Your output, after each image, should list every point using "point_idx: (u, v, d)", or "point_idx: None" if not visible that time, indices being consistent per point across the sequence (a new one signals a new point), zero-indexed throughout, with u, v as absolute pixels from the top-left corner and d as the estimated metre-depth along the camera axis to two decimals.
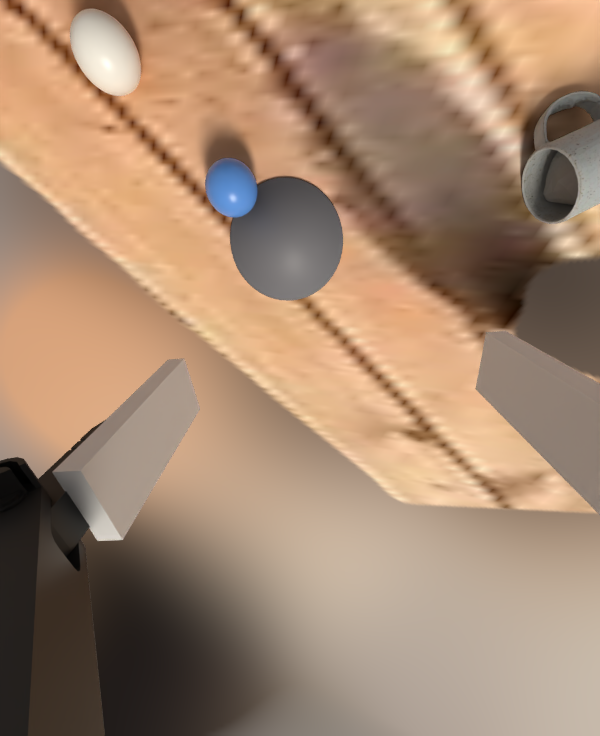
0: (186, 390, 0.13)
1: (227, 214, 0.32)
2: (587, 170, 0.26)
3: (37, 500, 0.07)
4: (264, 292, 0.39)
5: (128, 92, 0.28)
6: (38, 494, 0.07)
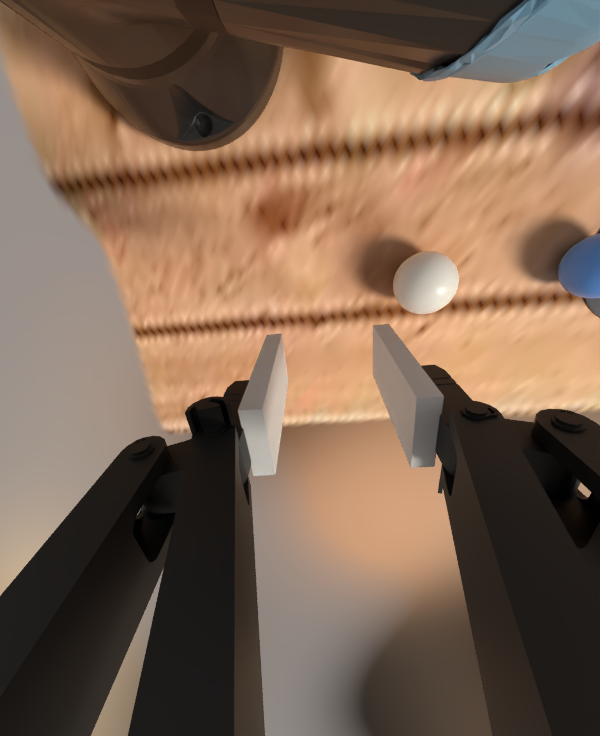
0: (283, 362, 0.14)
1: None
2: None
3: (232, 436, 0.08)
4: None
5: None
6: (233, 432, 0.08)
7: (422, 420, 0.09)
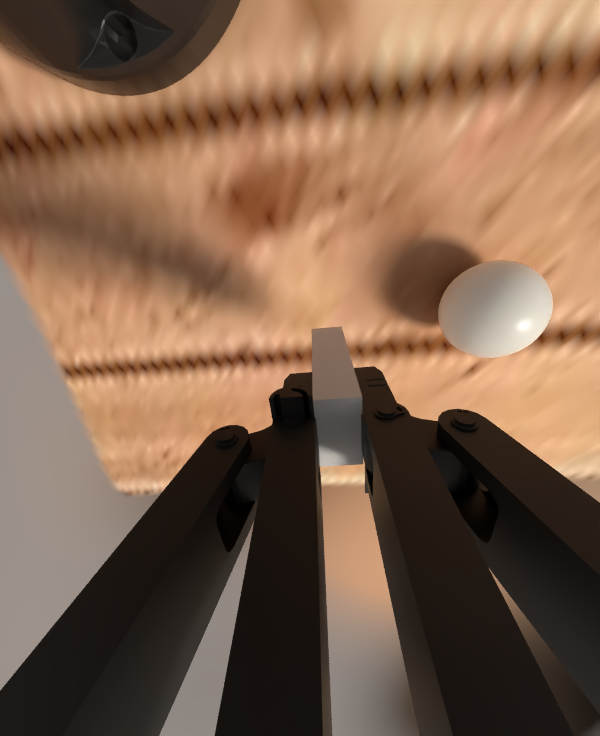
0: None
1: None
2: None
3: (311, 428, 0.08)
4: None
5: None
6: (312, 424, 0.08)
7: (345, 420, 0.09)
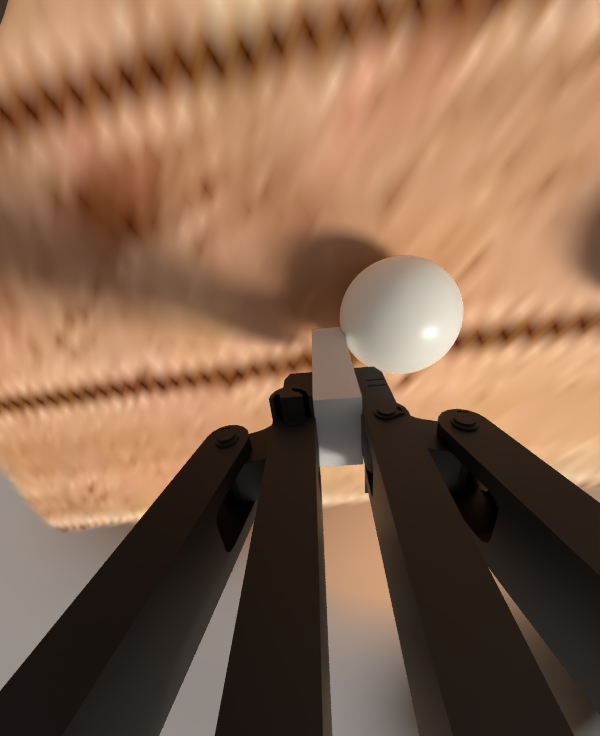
0: None
1: None
2: None
3: (311, 428, 0.08)
4: None
5: None
6: (313, 424, 0.08)
7: (344, 420, 0.09)
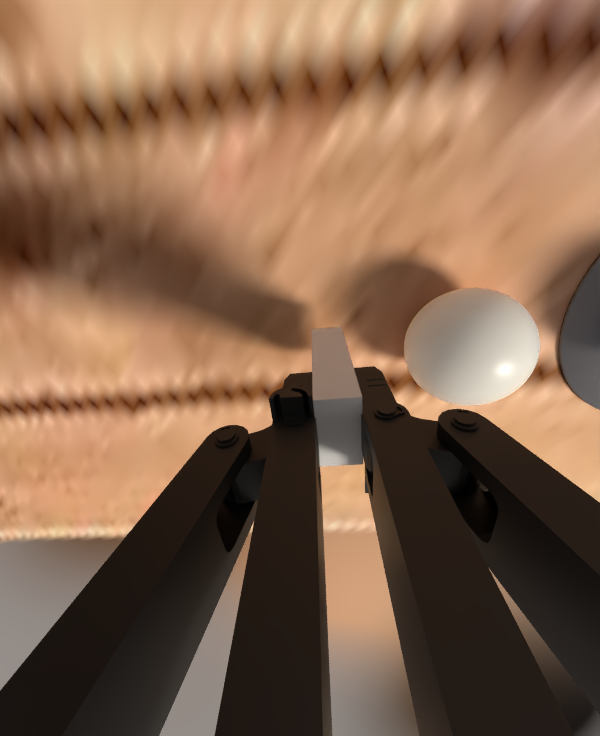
0: None
1: None
2: None
3: (311, 428, 0.08)
4: None
5: (414, 375, 0.14)
6: (313, 424, 0.08)
7: (345, 420, 0.09)
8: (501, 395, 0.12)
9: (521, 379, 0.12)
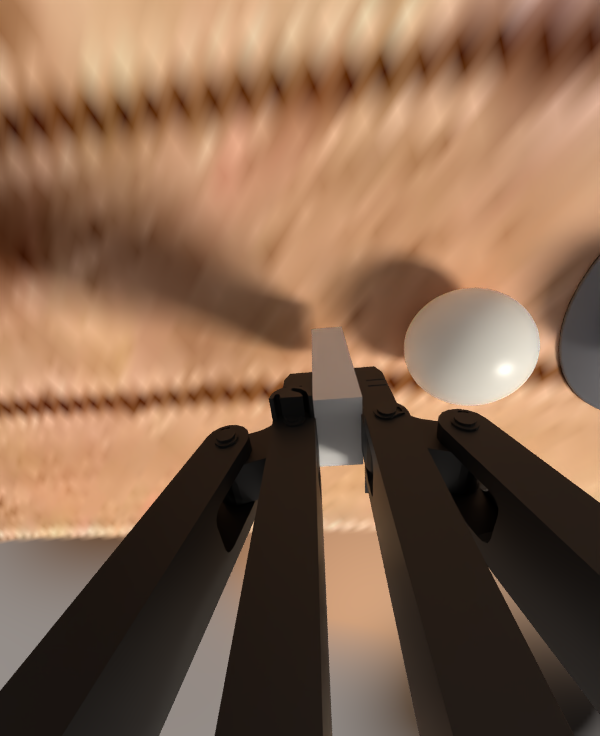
0: None
1: None
2: None
3: (311, 428, 0.08)
4: None
5: (414, 375, 0.14)
6: (313, 424, 0.08)
7: (345, 420, 0.09)
8: (501, 395, 0.12)
9: (521, 379, 0.12)
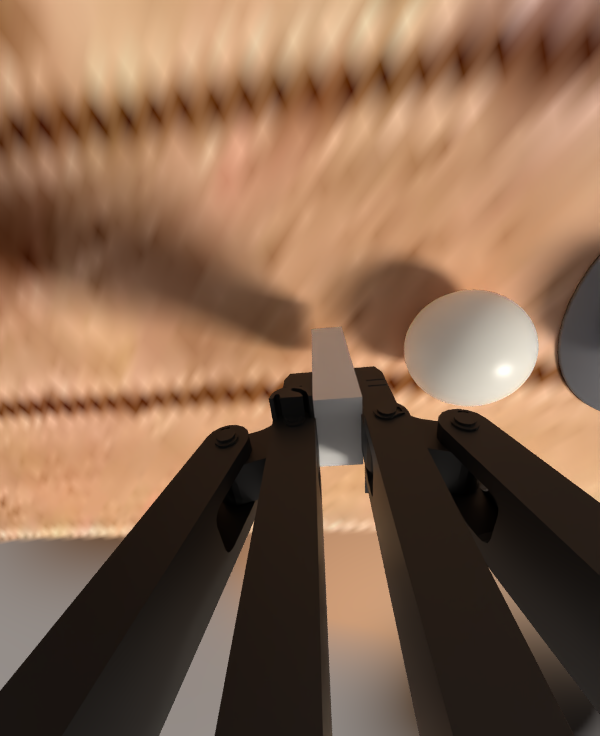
0: None
1: None
2: None
3: (311, 428, 0.08)
4: None
5: (414, 376, 0.14)
6: (312, 424, 0.08)
7: (345, 420, 0.09)
8: (500, 396, 0.12)
9: (520, 380, 0.12)
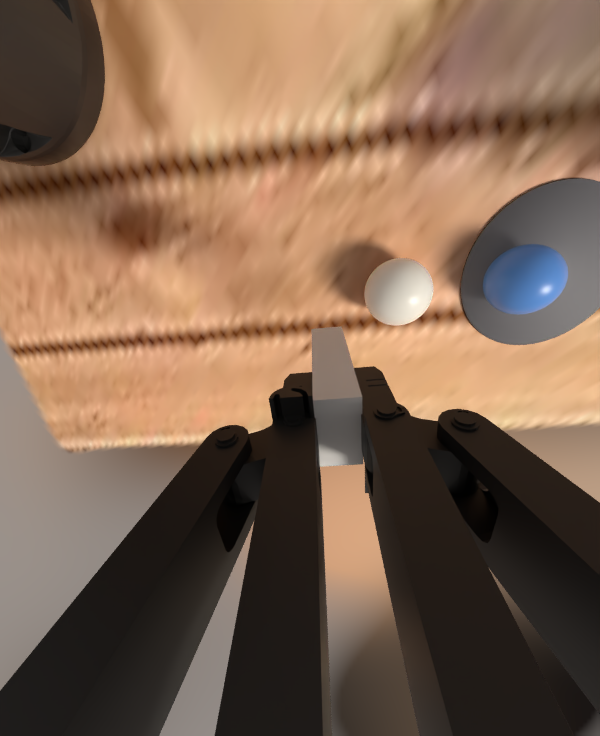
0: None
1: None
2: None
3: (311, 428, 0.08)
4: (546, 336, 0.29)
5: (369, 308, 0.25)
6: (313, 424, 0.08)
7: (345, 420, 0.09)
8: (412, 314, 0.23)
9: (421, 304, 0.22)
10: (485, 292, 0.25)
